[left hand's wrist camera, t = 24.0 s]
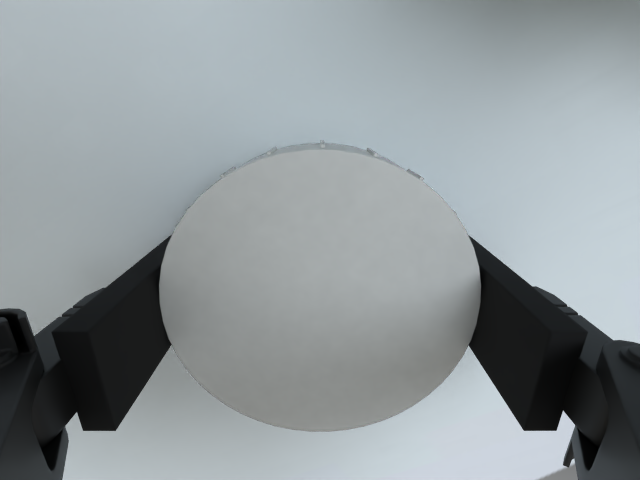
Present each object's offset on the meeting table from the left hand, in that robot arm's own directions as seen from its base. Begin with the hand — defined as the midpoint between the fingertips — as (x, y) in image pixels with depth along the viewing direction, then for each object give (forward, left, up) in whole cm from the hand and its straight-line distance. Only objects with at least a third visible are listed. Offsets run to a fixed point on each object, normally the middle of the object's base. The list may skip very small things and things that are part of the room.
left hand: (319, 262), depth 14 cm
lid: (0, 0, +3) cm, 3 cm away
